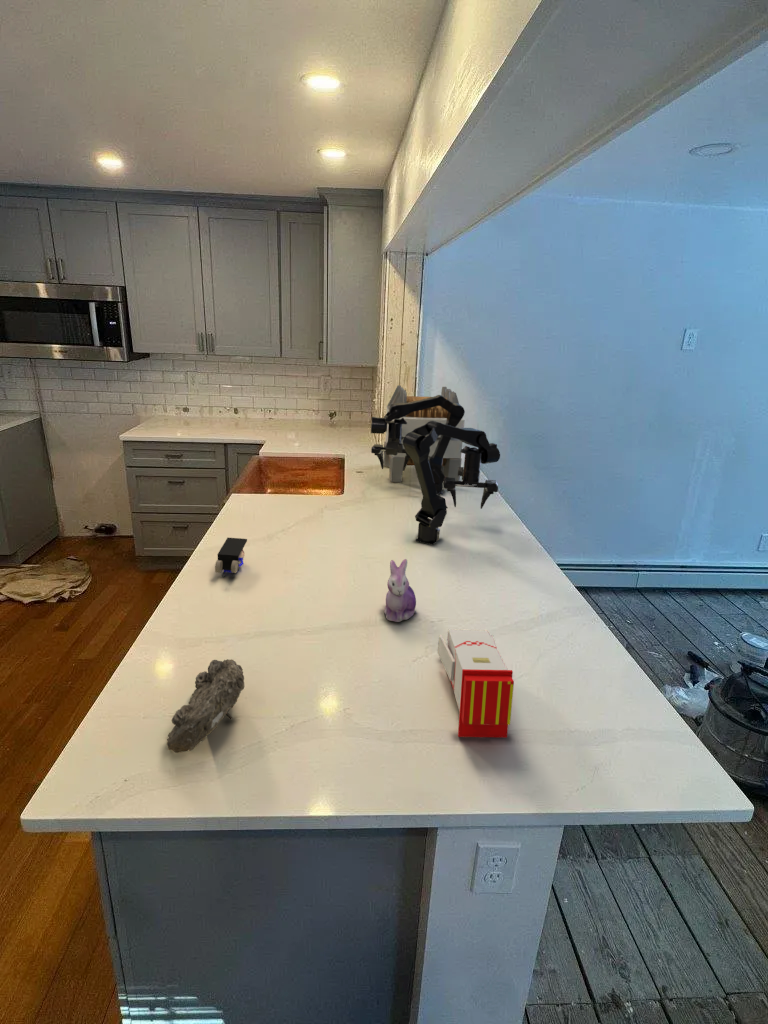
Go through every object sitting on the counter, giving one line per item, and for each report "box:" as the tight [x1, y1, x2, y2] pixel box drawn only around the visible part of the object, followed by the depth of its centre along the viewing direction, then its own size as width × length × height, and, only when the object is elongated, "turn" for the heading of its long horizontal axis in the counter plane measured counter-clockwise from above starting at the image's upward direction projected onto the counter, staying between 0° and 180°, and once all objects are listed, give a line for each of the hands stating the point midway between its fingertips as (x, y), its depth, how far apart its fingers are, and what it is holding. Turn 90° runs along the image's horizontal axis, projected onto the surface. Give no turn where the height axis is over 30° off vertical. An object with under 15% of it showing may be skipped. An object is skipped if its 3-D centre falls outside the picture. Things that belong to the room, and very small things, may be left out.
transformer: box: [383, 384, 465, 483], centre depth 268 cm, size 34×33×41 cm
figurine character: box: [214, 537, 248, 578], centre depth 166 cm, size 7×8×15 cm
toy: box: [437, 628, 515, 738], centre depth 117 cm, size 12×13×30 cm
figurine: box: [384, 558, 417, 623], centre depth 145 cm, size 9×10×15 cm
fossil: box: [166, 658, 245, 754], centre depth 106 cm, size 22×10×15 cm
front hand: (468, 507), depth 202 cm, fingers open, 9 cm apart
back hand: (393, 469), depth 243 cm, fingers open, 9 cm apart
